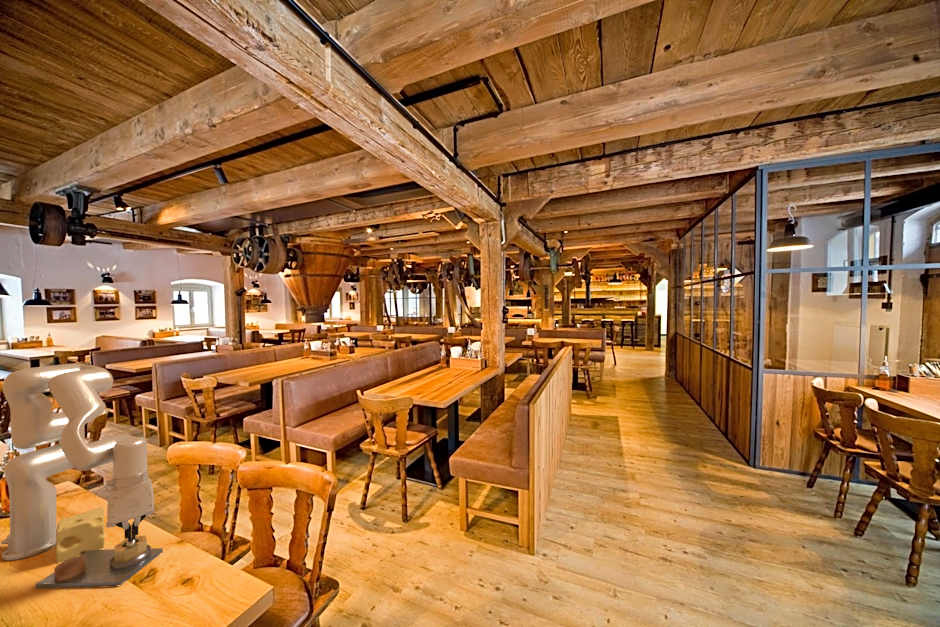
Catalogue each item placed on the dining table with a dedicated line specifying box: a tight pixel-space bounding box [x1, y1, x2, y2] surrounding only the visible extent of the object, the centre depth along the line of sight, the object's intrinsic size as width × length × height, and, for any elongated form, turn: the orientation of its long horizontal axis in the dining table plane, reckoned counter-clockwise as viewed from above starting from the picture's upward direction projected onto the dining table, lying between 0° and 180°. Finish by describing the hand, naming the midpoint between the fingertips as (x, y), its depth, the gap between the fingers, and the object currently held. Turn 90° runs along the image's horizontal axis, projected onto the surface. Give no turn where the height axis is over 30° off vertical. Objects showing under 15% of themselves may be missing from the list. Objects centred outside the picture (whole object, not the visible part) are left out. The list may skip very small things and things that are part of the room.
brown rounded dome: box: [54, 555, 86, 582], centre depth 100 cm, size 6×6×4 cm
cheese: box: [55, 506, 106, 564], centre depth 113 cm, size 10×11×10 cm
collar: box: [113, 535, 148, 563], centre depth 106 cm, size 7×7×4 cm
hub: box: [110, 538, 152, 570], centre depth 106 cm, size 9×9×7 cm
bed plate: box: [34, 547, 163, 590], centre depth 104 cm, size 23×14×1 cm, turn 92°
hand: (131, 538), depth 106 cm, fingers closed
